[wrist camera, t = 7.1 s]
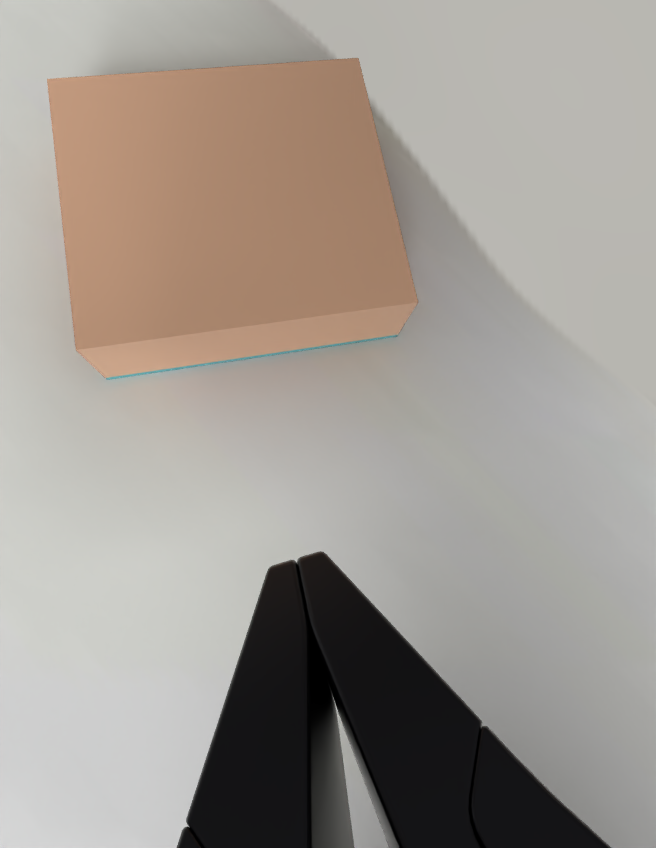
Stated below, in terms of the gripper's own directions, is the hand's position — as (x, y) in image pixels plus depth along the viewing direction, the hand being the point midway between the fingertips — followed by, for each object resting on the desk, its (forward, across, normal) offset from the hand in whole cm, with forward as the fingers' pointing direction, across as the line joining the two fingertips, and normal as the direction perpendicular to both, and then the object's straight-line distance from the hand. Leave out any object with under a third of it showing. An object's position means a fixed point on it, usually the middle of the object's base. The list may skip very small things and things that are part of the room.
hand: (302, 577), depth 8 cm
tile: (+10, 0, 0) cm, 10 cm away
